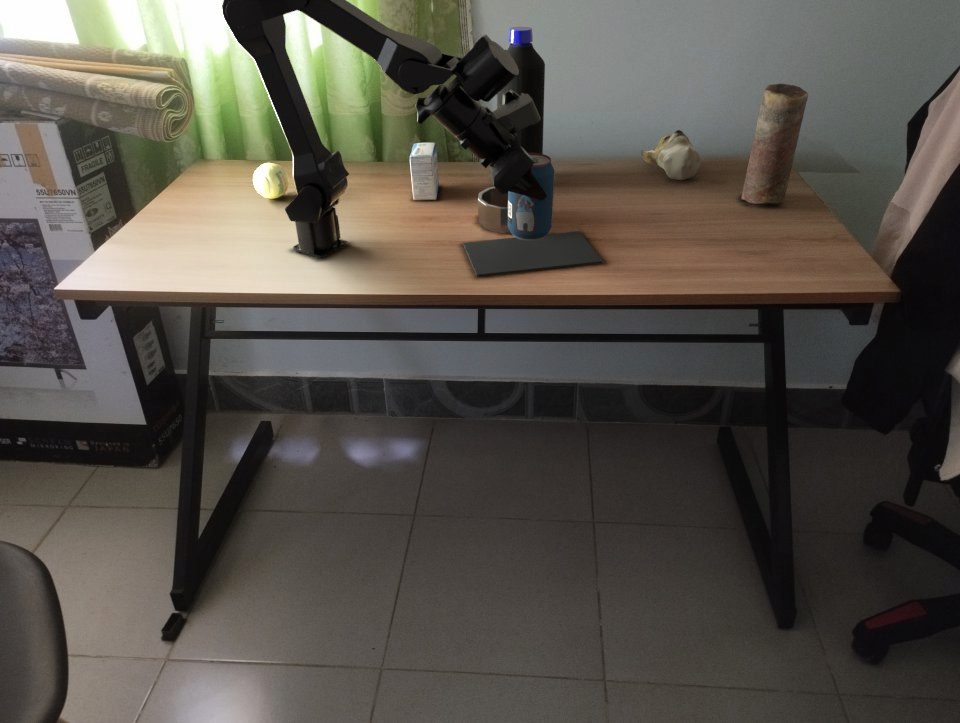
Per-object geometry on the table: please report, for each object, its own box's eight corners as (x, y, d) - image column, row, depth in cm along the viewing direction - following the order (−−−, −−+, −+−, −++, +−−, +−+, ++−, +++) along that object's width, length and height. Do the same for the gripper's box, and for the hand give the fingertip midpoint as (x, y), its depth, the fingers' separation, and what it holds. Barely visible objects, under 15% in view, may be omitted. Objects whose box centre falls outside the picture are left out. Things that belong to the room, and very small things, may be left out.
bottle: (538, 189, 143) (542, 33, 128) (494, 187, 145) (492, 32, 129) (544, 174, 150) (548, 24, 135) (501, 172, 152) (501, 24, 136)
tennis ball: (271, 206, 139) (264, 171, 135) (248, 199, 142) (241, 165, 138) (297, 196, 143) (292, 162, 139) (274, 189, 146) (268, 156, 143)
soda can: (543, 222, 121) (546, 149, 114) (557, 239, 115) (561, 163, 109) (502, 227, 119) (503, 153, 113) (515, 244, 114) (516, 168, 107)
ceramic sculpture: (663, 139, 138) (640, 122, 151) (658, 185, 143) (636, 164, 156) (718, 137, 139) (691, 120, 152) (712, 183, 144) (686, 162, 157)
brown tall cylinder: (779, 194, 138) (803, 83, 127) (789, 209, 132) (815, 93, 121) (737, 194, 139) (757, 83, 128) (745, 209, 133) (766, 93, 122)
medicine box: (436, 200, 139) (433, 155, 135) (412, 201, 140) (409, 155, 135) (439, 185, 146) (436, 142, 141) (416, 186, 146) (413, 142, 141)
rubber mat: (476, 277, 113) (476, 274, 112) (463, 245, 123) (462, 242, 122) (602, 263, 116) (602, 261, 116) (579, 233, 126) (579, 230, 125)
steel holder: (521, 238, 124) (521, 213, 122) (466, 224, 130) (465, 200, 127) (553, 216, 132) (554, 191, 129) (500, 204, 137) (500, 180, 135)
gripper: (520, 93, 96) (596, 171, 103) (494, 62, 111) (562, 132, 119) (461, 157, 99) (538, 228, 107) (444, 118, 115) (513, 183, 122)
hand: (539, 189), depth 113 cm, fingers closed on soda can, 7 cm apart
